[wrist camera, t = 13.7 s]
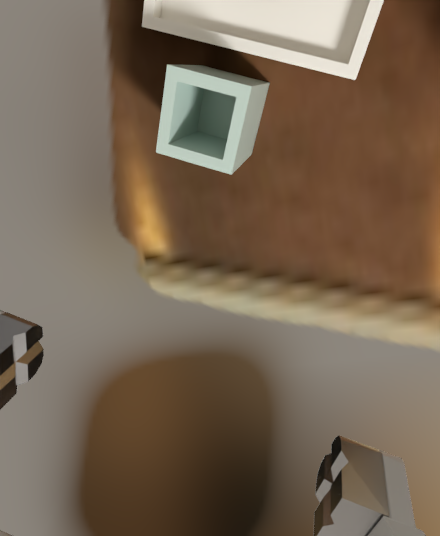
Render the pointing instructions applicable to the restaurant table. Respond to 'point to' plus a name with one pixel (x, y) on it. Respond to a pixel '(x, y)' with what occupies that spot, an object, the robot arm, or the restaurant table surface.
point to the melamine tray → (275, 28)
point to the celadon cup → (210, 116)
